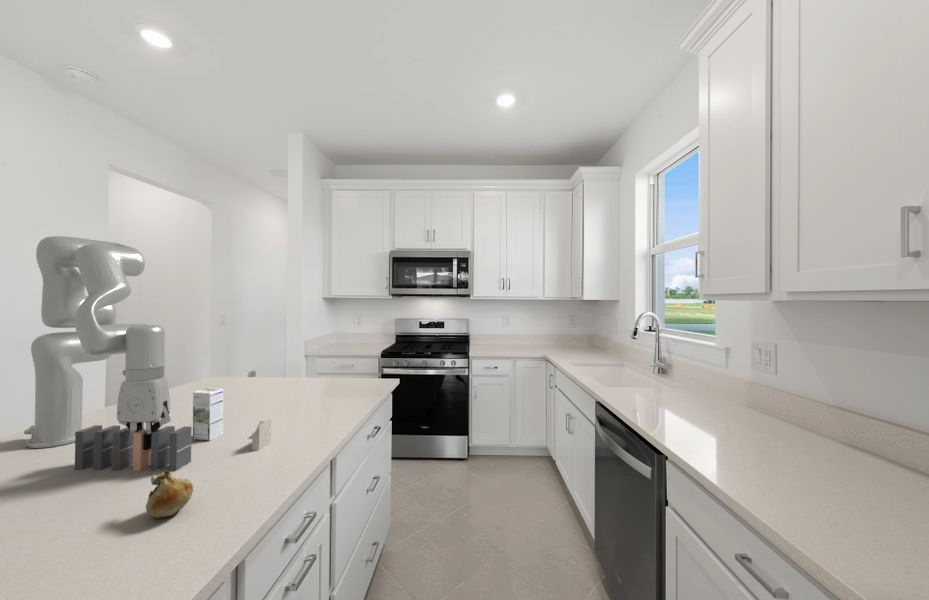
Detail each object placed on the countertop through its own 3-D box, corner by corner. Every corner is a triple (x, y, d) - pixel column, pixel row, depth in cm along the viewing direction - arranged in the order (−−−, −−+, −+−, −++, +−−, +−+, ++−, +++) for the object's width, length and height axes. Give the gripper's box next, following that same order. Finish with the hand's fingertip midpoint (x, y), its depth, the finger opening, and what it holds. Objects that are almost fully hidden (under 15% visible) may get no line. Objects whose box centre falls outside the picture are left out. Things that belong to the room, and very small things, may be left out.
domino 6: (168, 470, 93) (169, 433, 93) (183, 462, 98) (184, 426, 98) (176, 470, 93) (176, 433, 93) (190, 462, 98) (191, 426, 98)
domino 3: (112, 470, 93) (112, 432, 93) (130, 461, 98) (130, 425, 98) (119, 470, 93) (120, 432, 93) (137, 461, 98) (137, 425, 98)
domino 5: (149, 470, 93) (151, 432, 93) (166, 461, 98) (167, 426, 98) (157, 470, 93) (159, 433, 93) (173, 462, 98) (174, 426, 98)
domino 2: (93, 469, 93) (94, 432, 93) (112, 461, 98) (113, 425, 98) (100, 469, 93) (101, 432, 93) (119, 461, 98) (120, 425, 98)
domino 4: (132, 470, 93) (133, 433, 93) (149, 462, 98) (150, 426, 98) (140, 470, 93) (140, 433, 93) (156, 462, 98) (157, 426, 98)
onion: (136, 529, 69) (137, 485, 69) (152, 507, 76) (152, 467, 76) (186, 520, 72) (187, 478, 72) (197, 500, 79) (197, 462, 79)
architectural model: (246, 451, 106) (247, 424, 106) (262, 442, 113) (262, 417, 113) (258, 452, 106) (258, 425, 106) (272, 442, 113) (273, 417, 113)
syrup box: (223, 434, 118) (224, 387, 118) (209, 441, 112) (210, 392, 112) (206, 433, 118) (207, 387, 119) (191, 440, 113) (192, 391, 113)
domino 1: (74, 469, 93) (75, 431, 93) (94, 461, 98) (95, 425, 98) (82, 469, 93) (82, 432, 93) (101, 461, 98) (102, 425, 98)
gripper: (99, 377, 91) (98, 454, 91) (165, 377, 91) (164, 454, 91) (127, 372, 99) (126, 442, 99) (187, 372, 99) (187, 442, 99)
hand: (144, 447), depth 95 cm, fingers closed on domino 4, 1 cm apart
